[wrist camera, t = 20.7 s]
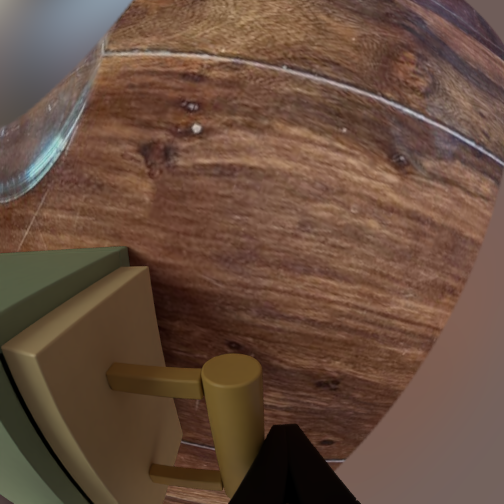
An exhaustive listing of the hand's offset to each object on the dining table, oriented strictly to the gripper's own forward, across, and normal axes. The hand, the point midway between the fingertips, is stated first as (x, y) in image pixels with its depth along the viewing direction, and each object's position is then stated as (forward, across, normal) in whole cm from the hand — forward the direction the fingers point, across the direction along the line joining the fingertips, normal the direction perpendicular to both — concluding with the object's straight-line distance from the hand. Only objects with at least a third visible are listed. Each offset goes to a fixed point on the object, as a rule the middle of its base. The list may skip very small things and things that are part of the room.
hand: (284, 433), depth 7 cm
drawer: (+3, +7, 0) cm, 8 cm away
